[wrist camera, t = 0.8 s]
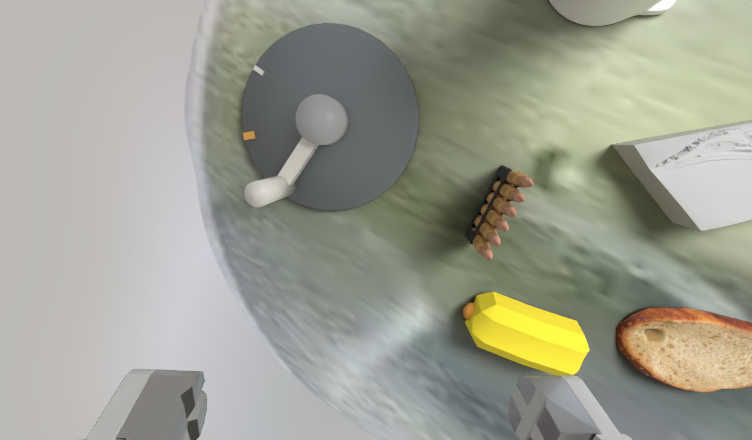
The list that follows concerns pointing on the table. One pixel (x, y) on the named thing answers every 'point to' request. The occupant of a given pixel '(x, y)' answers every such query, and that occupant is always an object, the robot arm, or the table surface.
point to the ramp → (697, 174)
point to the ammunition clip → (496, 209)
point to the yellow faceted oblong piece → (526, 334)
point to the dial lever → (303, 147)
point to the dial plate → (352, 89)
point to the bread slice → (688, 348)
